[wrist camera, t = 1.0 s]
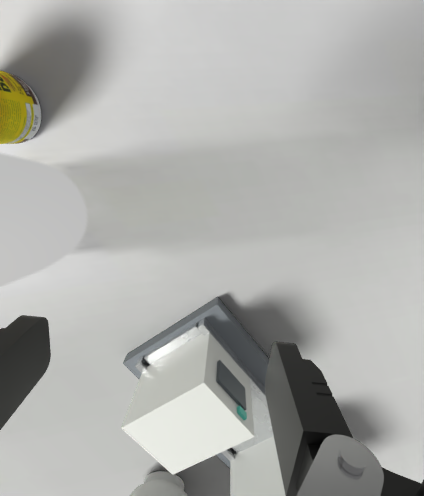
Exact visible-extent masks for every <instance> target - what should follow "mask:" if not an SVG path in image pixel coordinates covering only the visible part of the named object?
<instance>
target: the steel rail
mask: <svg viewBox="0 0 424 496" xmlns="http://www.w3.org/2000/svg"><path fill="white" fill-rule="evenodd" d="M208 333H210V334H211V335H212V336H213V337H214V338H215V340H216V341H217V342H218V343H219V344H220V345H221V346H222V348H223V349H224V350H225V351H226V352H227V353H228V354H229V356H230V357H231V358H232V359H233V360H234V361H235V362H236V364H237V365H238V366H239V367H240V368H241V369H242V370H243V372H244V373H245V374H246V375H247V376H248V377H249V378H250V387H251V399H252V411H253V424H254V436H255V437H253V438H251V439H249V440H247V441H244V442H242V443H240V444H238V445H236V446H234V447H232V448H229V449H227V450H225V451H223V452H221V453H222V454H223V455H224V456H225V457H226V458H227V459H228V460H229V461H232V460H234V459H235V454H236V453H238V452H240V451H243V450H245V449H247V448H249V447H251V446H253V445H256V444H258V443H260V442H262V441H264V440H267V439H269V438H271V437H273V436H274V435H273V430H272V425H271V420H270V415H269V410H268V405H267V400H266V394H265V387H264V386H263V385H262V383H261V382H260V381H259V380H258V379H257V378H256V376H255V375H254V374H253V373H252V372H251V371H250V370H249V368H248V367H247V366H246V365H245V364H244V363H243V361H242V360H241V359H240V358H239V357H238V356H237V354H236V353H235V352H234V351H233V350H232V349H231V348H230V346H229V345H228V344H227V343H226V342H225V341H224V339H223V338H222V337H221V336H220V335H219V334H218V332H217V331H216V330H215V329H214V328H213V327H212V326H211V324H210V323H209V322H208V321H207V320H206V319H205V318H203V319H201V320H200V321H199V325H198V324H197V323H195V324H193V325H192V326H190V327H189V328H187V329H185V330H184V331H182V332H180V333H179V334H177V335H176V336H174V337H172V338H171V339H169V340H168V341H166V342H164V343H163V344H161V345H159V346H158V347H156V348H155V349H153V350H151V351H150V352H148V353H147V354H146V355H145V356H144V355H143V356H142V357H140V358H139V359H138V361H137V364H136V366H135V367H136V368H137V369H138V370H139V371H140V372H141V373H143V372H144V371H146V370H147V367H148V366H149V365H150V364H152V363H154V362H155V361H157V360H159V359H160V358H162V357H164V356H165V355H167V354H169V353H170V352H172V351H174V350H175V349H177V348H179V347H180V346H182V345H184V344H185V343H187V342H189V341H190V340H192V339H194V338H195V337H197V336H199V335H200V334H203V335H206V334H208Z"/></svg>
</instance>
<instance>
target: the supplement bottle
mask: <svg viewBox="0 0 424 496" xmlns="http://www.w3.org/2000/svg"><path fill="white" fill-rule="evenodd" d="M40 124H41V108H40V104H39V101H38V99H37V97H36V95H35V93H34V92H33V90H32V89H31V88H30V87H29V86H28V85H27V84H26V83H25V82H24V81H23V80H21V79H20V78H18V77H17V76H15V75H12V74H10V73H7V72H3V71H0V144H16V143H23V142H26V141H28V140H30V139H31V138H32V137H33V136H34V135H35V134H36V133H37V131H38V129H39V127H40Z"/></svg>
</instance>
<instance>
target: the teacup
mask: <svg viewBox="0 0 424 496" xmlns="http://www.w3.org/2000/svg"><path fill="white" fill-rule="evenodd" d="M130 496H188V495H187V494H186V493H185V492H184V483H183V481H182V479H181V478H180V477H178V476H177V475H175V474H174V475H172V474H171V473H170V472H167V471H156V472H153V473H150V474H149V475H148V476H147V477H146V478H145V481H144V484H142V485H140V486H138V487H137V488H136V489H135V490H134V491H133V492H132V493H131V494H130Z"/></svg>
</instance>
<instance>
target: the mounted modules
mask: <svg viewBox="0 0 424 496" xmlns="http://www.w3.org/2000/svg"><path fill="white" fill-rule="evenodd" d="M121 429H123V430H124V431H125V432H126V433H127V434H128V435H129V436H130V437H131V438H133V439H134V440H135V441H136V442H137V443H138V444H139V445H140V446H141V447H142V448H144V449H145V450H146V451H147V452H148V453H149V454H150V455H151V456H152V457H154V458H155V459H156V460H157V461H158V462H159V463H160V464H161V465H162V466H163V467H165V468H166V469H167V470H168V471H169V472H170V473H171V474H172V475H174V474H176V473H178V472H180V471H182V470H184V469H186V468H189V467H191V466H193V465H195V464H197V463H199V462H201V461H204V460H206V459H208V458H210V457H212V456H214V455H216V454H219V453H221V452H223V451H225V450H227V449H229V448H232V447H234V446H236V445H238V444H240V443H242V442H244V441H247V440H249V439H251V438H253V437H255V436H254V424H253V411H252V399H251V387H250V378H249V377H248V376H247V375H246V374H245V373H244V372H243V370H242V369H241V368H240V367H239V366H238V365H237V364H236V362H235V361H234V360H233V359H232V358H231V357H230V356H229V354H228V353H227V352H226V351H225V350H224V349H223V348H222V346H221V345H220V344H219V343H218V342H217V341H216V340H215V338H214V337H213V336H212V335H211V334H210V333H208V334H206V335H203V334H200V335H199V336H197V337H195V338H194V339H192V340H190V341H189V342H187V343H185V344H184V345H182V346H180V347H179V348H177V349H175V350H174V351H172V352H170V353H169V354H167V355H165V356H164V357H162V358H160V359H159V360H157V361H155V362H154V363H152V364H150V365H149V366H148V367H147V370H146V371H144V372H143V373H142V374H141V376H140V379H139V382H138V384H137V387H136V390H135V392H134V395H133V398H132V400H131V403H130V406H129V408H128V411H127V414H126V416H125V419H124V422H123V424H122V427H121ZM230 496H286V495H285V490H284V485H283V480H282V475H281V470H280V465H279V460H278V455H277V450H276V445H275V440H274V436H273V437H271V438H269V439H267V440H264V441H262V442H260V443H258V444H256V445H253V446H251V447H249V448H247V449H245V450H243V451H240V452H238V453H236V454H235V459H234V460H232V461H230Z"/></svg>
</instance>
